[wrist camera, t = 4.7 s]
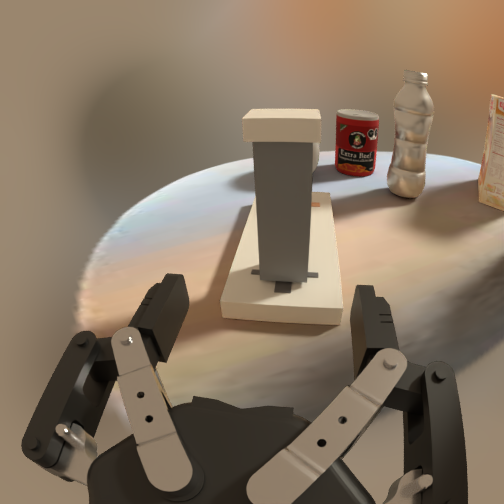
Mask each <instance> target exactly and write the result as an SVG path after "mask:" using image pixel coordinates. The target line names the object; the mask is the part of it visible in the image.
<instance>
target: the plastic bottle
mask: <svg viewBox="0 0 504 504" xmlns="http://www.w3.org/2000/svg"><path fill="white" fill-rule="evenodd" d="M427 77H428V76H427V74H424V73H420V72H415V71H409V70H404V78H403V81H405V85H404V87H403V88H402V89H401V90H400V91H399V92H398V94H397V95H396V97H395V100H394V116H395V144H394V149H393V155H392V160H391V164H390V166H389V170H388V174H387V185H388V187H389V189H390V191H391V192H392V193H394V194H396V195H398V196H402V197H406V198H415V197H418V196H419V195H420V194H421V193H422V191H423V189H424V186H425V177H426V174H425V164H426V149H427V142H428V137H429V132H430V127H431V123H432V119H433V115H434V105H433V102H432V100H431V98H430V96H429V94H428V92H427V90H426V85H428V83H427Z"/></svg>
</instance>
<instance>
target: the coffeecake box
mask: <svg viewBox="0 0 504 504" xmlns="http://www.w3.org/2000/svg"><path fill="white" fill-rule="evenodd" d="M478 190H479V202H480V203H483V204H485V205H488V206H491V207H494V208H497V209H499V210H501V211H504V98H503V97H500V96H497V95H493V94H491V99H490V110H489V120H488V127H487V134H486V141H485V148H484V153H483V160H482V164H481V169H480V174H479V178H478Z"/></svg>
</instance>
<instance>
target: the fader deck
mask: <svg viewBox="0 0 504 504" xmlns="http://www.w3.org/2000/svg"><path fill="white" fill-rule="evenodd" d="M220 306H221V311H222V317H223V318H231V319H242V320H255V321H269V322H284V323H302V324H324V325H340V322H341V317H342V312H343V300H342V289H341V278H340V269H339V260H338V251H337V243H336V235H335V227H334V220H333V213H332V206H331V199H330V193H325V192H312V202H311V225H310V244H309V261H308V276H307V283H305V282H285V281H266V280H260V270H259V250H258V231H257V213H256V196H255V199H254V202H253V205H252V208H251V211H250V214H249V216H248V219H247V222H246V225H245V228H244V231H243V234H242V237H241V240H240V243H239V246H238V249H237V251H236V254H235V257H234V260H233V263H232V266H231V269H230V272H229V275H228V278H227V281H226V284H225V287H224V290H223V293H222V296H221V299H220Z"/></svg>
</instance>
